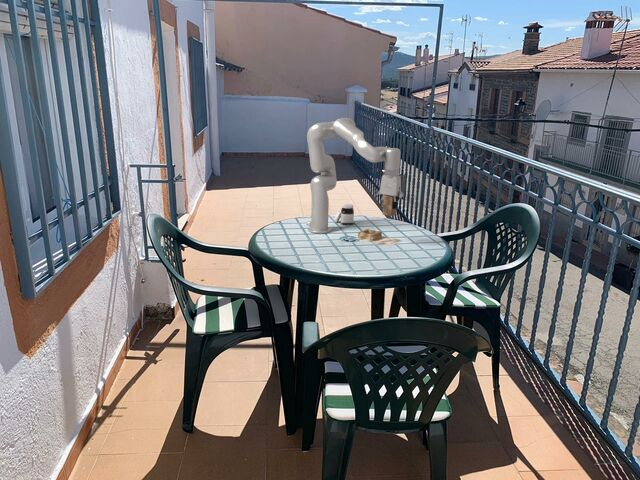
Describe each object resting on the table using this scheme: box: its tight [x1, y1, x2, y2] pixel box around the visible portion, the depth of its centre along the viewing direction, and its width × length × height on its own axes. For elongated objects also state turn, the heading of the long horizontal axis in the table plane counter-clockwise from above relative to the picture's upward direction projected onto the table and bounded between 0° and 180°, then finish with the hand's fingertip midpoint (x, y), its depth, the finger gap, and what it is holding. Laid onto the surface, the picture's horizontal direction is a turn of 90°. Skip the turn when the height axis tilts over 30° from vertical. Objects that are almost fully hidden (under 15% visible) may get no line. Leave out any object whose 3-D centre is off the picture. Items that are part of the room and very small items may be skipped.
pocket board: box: [354, 228, 404, 247], centre depth 269 cm, size 22×14×4 cm, turn 52°
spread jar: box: [334, 203, 355, 226], centre depth 303 cm, size 12×11×12 cm
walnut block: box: [382, 195, 397, 217], centre depth 260 cm, size 5×5×10 cm
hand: (389, 207), depth 261 cm, fingers closed on walnut block, 5 cm apart
